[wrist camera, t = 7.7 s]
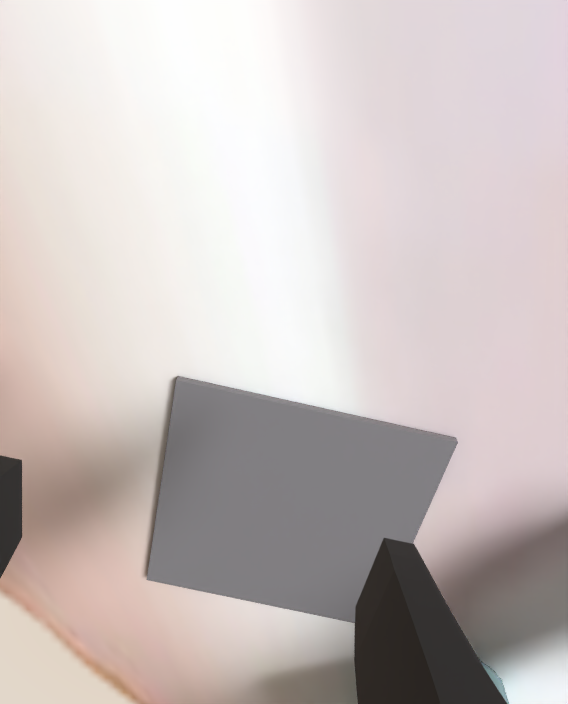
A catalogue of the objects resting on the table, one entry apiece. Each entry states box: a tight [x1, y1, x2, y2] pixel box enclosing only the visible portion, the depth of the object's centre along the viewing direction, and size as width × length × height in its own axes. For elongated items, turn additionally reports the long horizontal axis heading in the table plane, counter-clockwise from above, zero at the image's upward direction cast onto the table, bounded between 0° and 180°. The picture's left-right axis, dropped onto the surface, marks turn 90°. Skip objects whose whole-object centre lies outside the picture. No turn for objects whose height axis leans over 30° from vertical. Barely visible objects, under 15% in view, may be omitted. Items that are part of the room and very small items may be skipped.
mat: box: [147, 376, 458, 623], centre depth 23 cm, size 11×11×1 cm
